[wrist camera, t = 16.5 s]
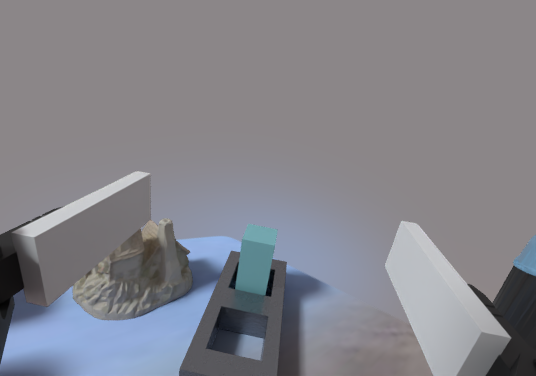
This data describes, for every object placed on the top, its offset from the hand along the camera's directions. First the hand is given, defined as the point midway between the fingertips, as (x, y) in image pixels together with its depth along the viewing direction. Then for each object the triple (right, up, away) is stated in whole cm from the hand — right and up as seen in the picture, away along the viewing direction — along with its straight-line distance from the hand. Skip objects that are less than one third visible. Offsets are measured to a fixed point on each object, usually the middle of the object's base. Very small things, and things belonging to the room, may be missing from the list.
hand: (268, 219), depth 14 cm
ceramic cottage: (-22, -13, +30) cm, 39 cm away
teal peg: (-3, -16, +30) cm, 34 cm away
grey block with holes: (-4, -18, +25) cm, 31 cm away
